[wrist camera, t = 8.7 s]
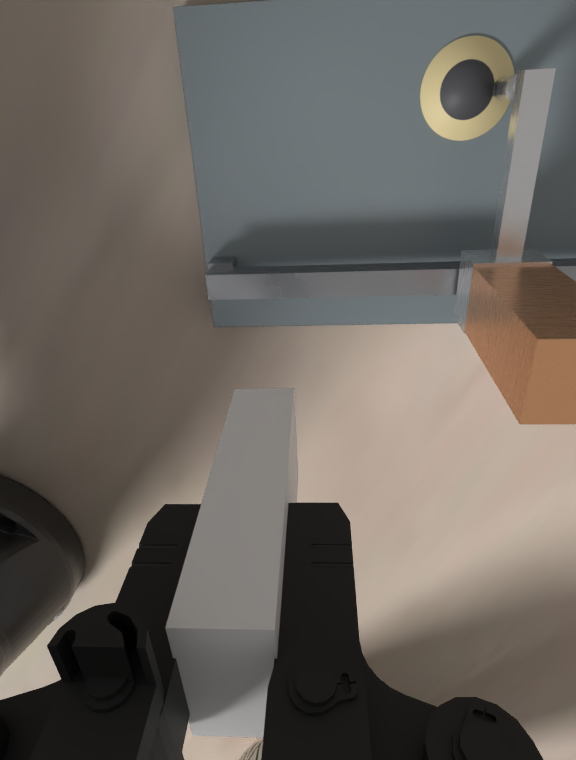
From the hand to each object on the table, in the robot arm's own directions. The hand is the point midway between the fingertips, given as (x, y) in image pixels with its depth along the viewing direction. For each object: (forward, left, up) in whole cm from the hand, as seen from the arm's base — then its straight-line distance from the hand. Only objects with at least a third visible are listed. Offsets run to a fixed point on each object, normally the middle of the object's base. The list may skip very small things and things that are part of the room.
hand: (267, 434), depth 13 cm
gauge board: (+10, +4, -15) cm, 19 cm away
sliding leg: (+9, +3, -14) cm, 17 cm away
